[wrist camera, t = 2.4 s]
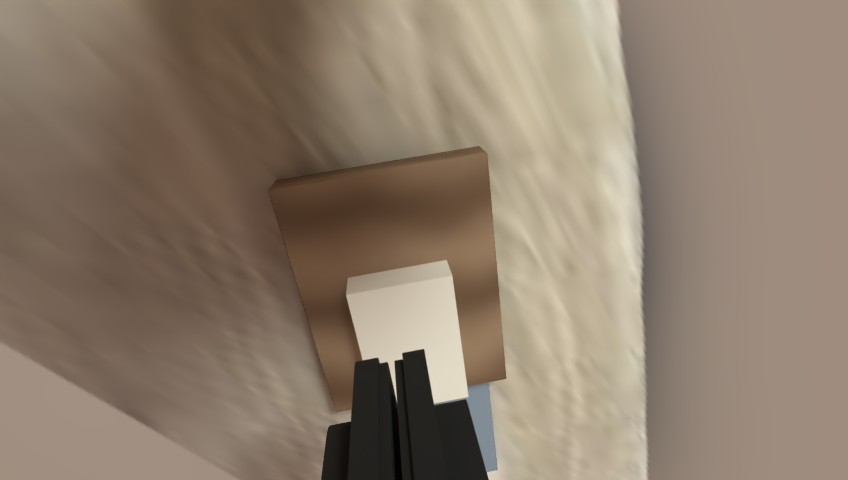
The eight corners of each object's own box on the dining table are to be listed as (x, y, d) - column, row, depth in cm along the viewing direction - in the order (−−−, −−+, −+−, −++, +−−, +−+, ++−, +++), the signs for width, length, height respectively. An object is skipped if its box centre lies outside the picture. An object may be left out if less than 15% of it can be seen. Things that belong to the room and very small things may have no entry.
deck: (275, 180, 25) (268, 190, 23) (478, 146, 25) (487, 153, 24) (337, 390, 31) (335, 411, 30) (498, 360, 32) (506, 378, 30)
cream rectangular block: (347, 277, 26) (345, 294, 24) (446, 259, 26) (452, 275, 24) (376, 392, 29) (376, 414, 28) (462, 375, 30) (468, 396, 28)
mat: (352, 390, 32) (351, 393, 31) (485, 364, 32) (486, 367, 32) (379, 490, 36) (380, 493, 36) (496, 466, 37) (497, 469, 36)
